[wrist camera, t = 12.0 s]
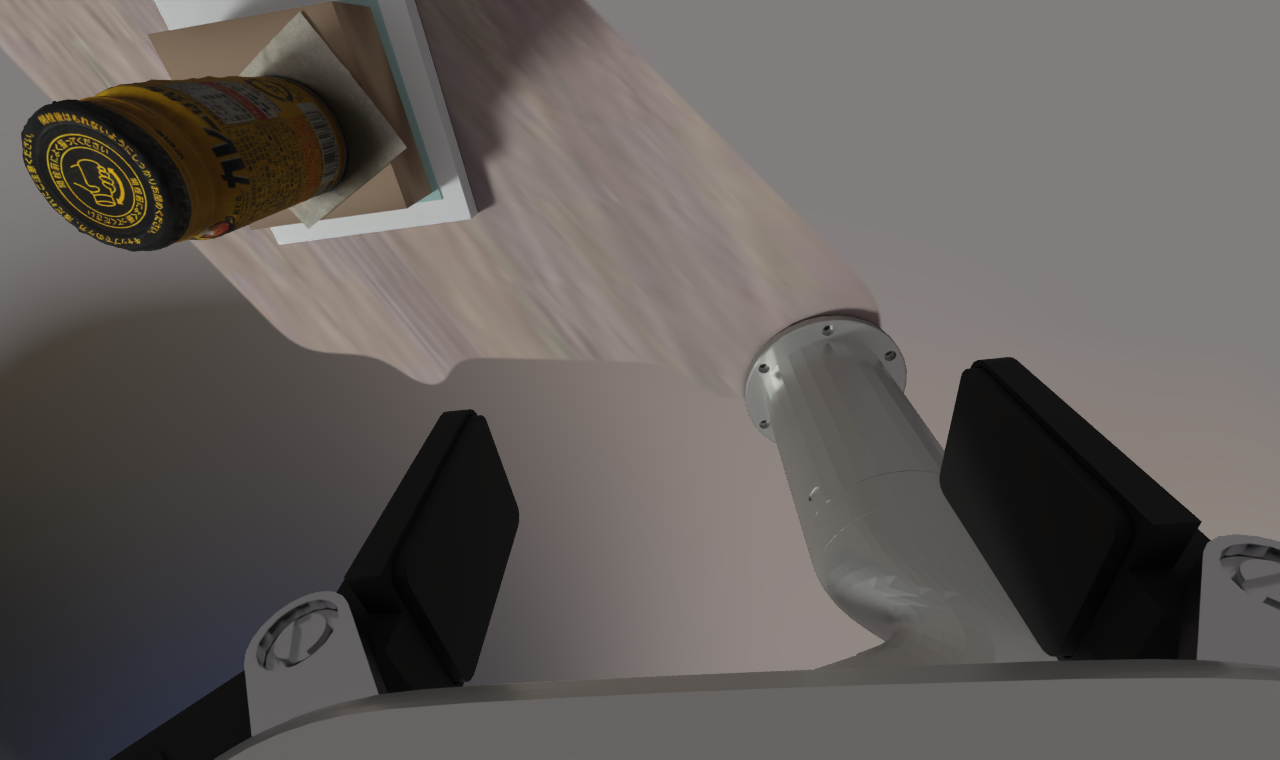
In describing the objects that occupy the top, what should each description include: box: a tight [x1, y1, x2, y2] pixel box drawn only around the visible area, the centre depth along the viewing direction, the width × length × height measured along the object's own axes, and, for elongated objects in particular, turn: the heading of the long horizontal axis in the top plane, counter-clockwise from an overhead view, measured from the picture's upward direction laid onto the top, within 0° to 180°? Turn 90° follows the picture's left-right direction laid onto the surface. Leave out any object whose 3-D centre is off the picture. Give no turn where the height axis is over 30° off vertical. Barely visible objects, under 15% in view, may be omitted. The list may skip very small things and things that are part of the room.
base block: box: [148, 1, 432, 230], centre depth 30 cm, size 10×10×4 cm
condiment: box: [21, 12, 407, 252], centre depth 24 cm, size 7×8×12 cm
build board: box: [154, 0, 478, 245], centre depth 33 cm, size 14×14×2 cm
